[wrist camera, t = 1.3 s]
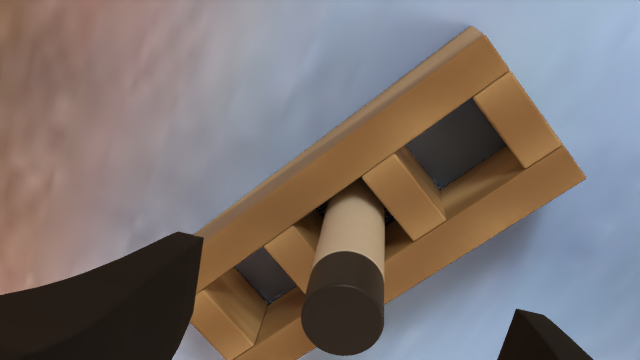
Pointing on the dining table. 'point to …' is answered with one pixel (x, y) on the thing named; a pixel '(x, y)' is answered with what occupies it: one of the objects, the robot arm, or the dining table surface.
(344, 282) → the marker
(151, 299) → the robot arm
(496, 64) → the pen block
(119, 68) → the dining table surface
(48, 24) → the dining table surface
